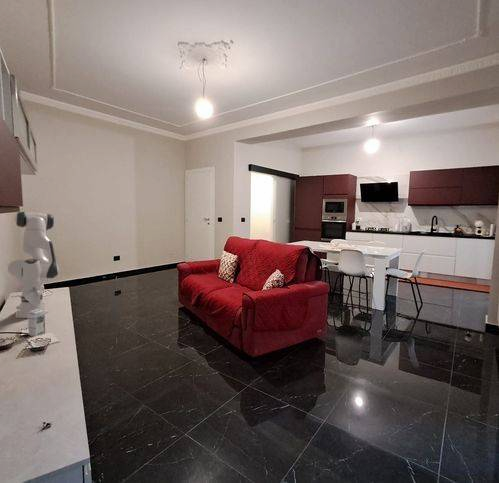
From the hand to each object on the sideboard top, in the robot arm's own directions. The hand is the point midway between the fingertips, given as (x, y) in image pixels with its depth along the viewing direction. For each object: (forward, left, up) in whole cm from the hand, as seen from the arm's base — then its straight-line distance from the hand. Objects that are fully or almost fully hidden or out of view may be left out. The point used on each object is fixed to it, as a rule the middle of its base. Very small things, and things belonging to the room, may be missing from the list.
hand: (32, 308), depth 177 cm
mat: (+19, 0, -14) cm, 24 cm away
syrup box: (+7, 0, -14) cm, 16 cm away
